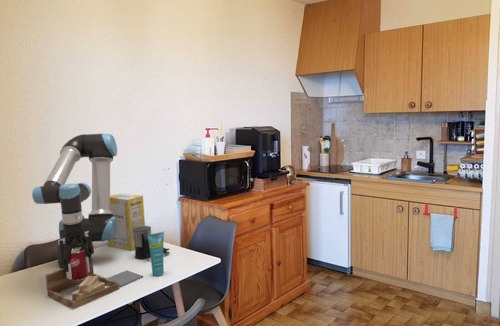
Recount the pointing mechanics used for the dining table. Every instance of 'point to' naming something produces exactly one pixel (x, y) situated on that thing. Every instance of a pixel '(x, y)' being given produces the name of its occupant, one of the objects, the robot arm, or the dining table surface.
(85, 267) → the soda can
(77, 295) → the bottom offcut
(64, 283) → the wooden tray frame
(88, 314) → the dining table surface
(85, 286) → the top offcut
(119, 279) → the plate
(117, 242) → the pasta box
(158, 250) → the tube
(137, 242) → the milk frother
